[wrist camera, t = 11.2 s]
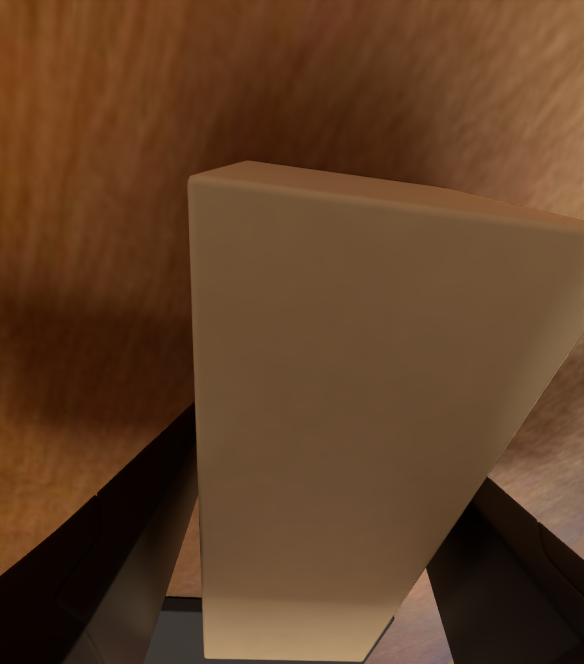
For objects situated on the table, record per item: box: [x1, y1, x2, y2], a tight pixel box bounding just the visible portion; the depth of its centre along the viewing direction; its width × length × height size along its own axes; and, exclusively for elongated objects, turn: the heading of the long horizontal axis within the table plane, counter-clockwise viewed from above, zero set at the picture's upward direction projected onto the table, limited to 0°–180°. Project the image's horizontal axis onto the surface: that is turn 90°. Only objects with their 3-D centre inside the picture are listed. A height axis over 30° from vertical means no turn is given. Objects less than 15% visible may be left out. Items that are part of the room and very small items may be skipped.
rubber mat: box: [143, 598, 394, 664], centre depth 20 cm, size 20×14×1 cm
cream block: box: [187, 160, 584, 662], centre depth 8 cm, size 4×4×12 cm
